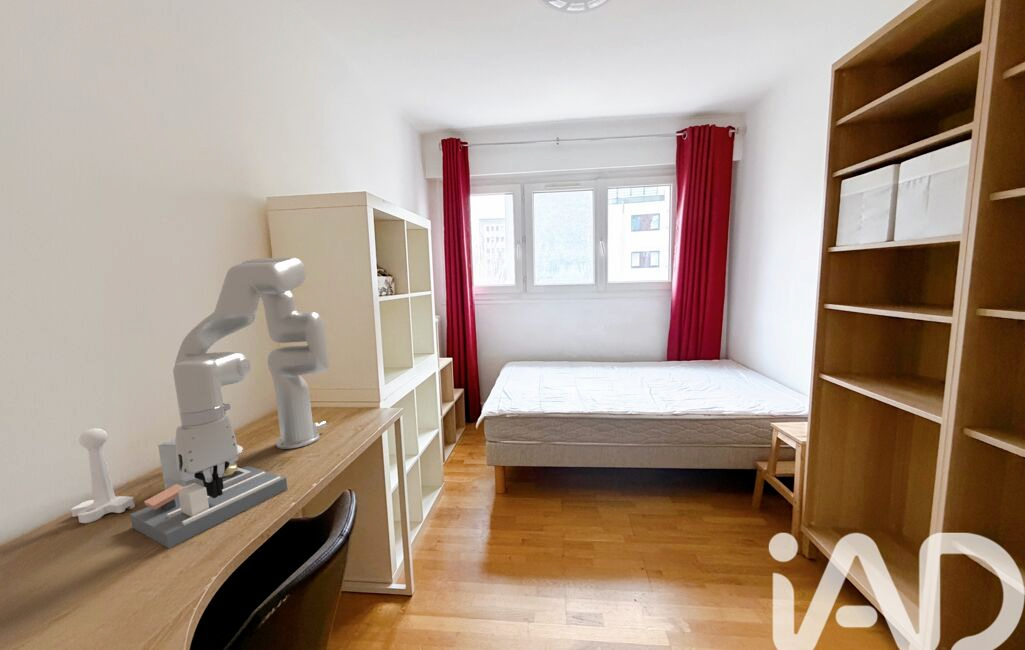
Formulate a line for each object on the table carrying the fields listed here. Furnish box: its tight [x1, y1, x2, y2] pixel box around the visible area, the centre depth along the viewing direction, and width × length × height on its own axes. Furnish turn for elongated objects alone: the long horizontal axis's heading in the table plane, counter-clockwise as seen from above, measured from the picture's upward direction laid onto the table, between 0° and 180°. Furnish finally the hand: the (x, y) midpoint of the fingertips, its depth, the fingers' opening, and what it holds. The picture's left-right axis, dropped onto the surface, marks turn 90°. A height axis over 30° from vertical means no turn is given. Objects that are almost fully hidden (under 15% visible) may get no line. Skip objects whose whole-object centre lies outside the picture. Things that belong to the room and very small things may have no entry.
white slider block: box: [178, 483, 209, 517], centre depth 84 cm, size 3×5×5 cm, turn 62°
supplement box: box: [158, 437, 212, 490], centre depth 103 cm, size 7×7×13 cm
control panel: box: [129, 465, 288, 549], centre depth 92 cm, size 24×17×4 cm
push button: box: [222, 462, 238, 479], centre depth 97 cm, size 4×4×2 cm
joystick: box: [70, 427, 136, 524], centre depth 90 cm, size 11×8×20 cm
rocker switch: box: [144, 484, 183, 510], centre depth 87 cm, size 6×4×1 cm
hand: (215, 495), depth 88 cm, fingers closed
